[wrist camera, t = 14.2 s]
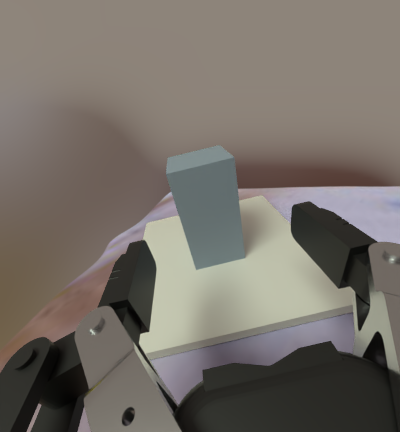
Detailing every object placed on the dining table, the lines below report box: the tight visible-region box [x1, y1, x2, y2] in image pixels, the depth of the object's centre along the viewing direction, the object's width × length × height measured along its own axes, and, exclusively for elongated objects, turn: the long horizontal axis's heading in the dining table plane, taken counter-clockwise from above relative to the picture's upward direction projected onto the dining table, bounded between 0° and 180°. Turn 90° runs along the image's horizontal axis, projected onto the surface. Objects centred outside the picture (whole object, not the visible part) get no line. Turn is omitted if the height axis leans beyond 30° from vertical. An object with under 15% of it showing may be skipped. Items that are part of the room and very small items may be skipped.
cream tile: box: [139, 195, 354, 360], centre depth 21 cm, size 18×18×1 cm
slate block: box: [166, 145, 245, 270], centre depth 18 cm, size 5×5×10 cm
